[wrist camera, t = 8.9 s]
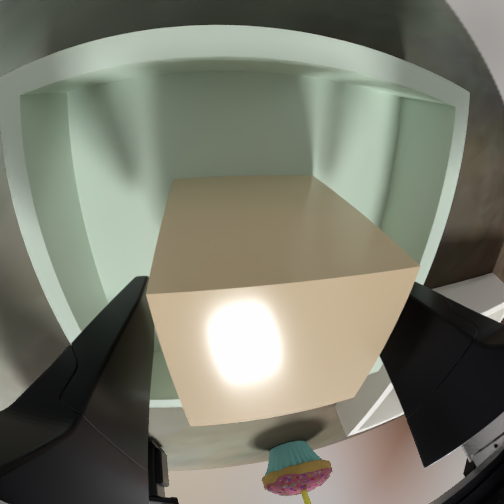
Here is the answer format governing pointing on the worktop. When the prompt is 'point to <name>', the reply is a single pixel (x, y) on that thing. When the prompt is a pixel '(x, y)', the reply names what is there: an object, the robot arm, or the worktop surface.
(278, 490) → the cupcake
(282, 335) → the beige plain cubic block
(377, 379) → the bin
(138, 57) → the bin
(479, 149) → the worktop surface
